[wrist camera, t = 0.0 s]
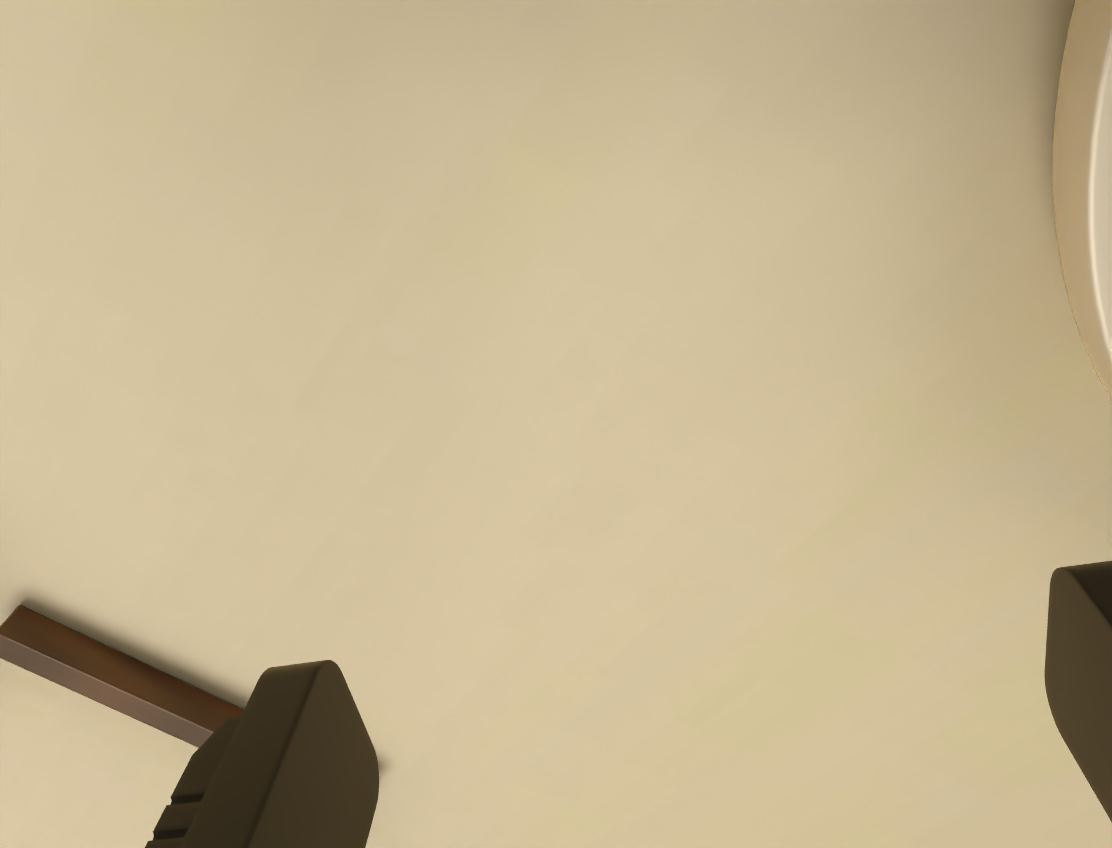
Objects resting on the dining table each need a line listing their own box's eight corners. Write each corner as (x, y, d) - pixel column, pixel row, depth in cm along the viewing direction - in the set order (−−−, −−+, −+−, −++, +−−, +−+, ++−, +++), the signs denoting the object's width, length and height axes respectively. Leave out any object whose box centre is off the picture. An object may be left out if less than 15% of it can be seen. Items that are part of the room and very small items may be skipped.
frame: (-97, 860, 41) (-121, 891, 39) (19, 604, 33) (-5, 631, 31) (208, 980, 44) (196, 1012, 43) (379, 772, 36) (371, 803, 35)
